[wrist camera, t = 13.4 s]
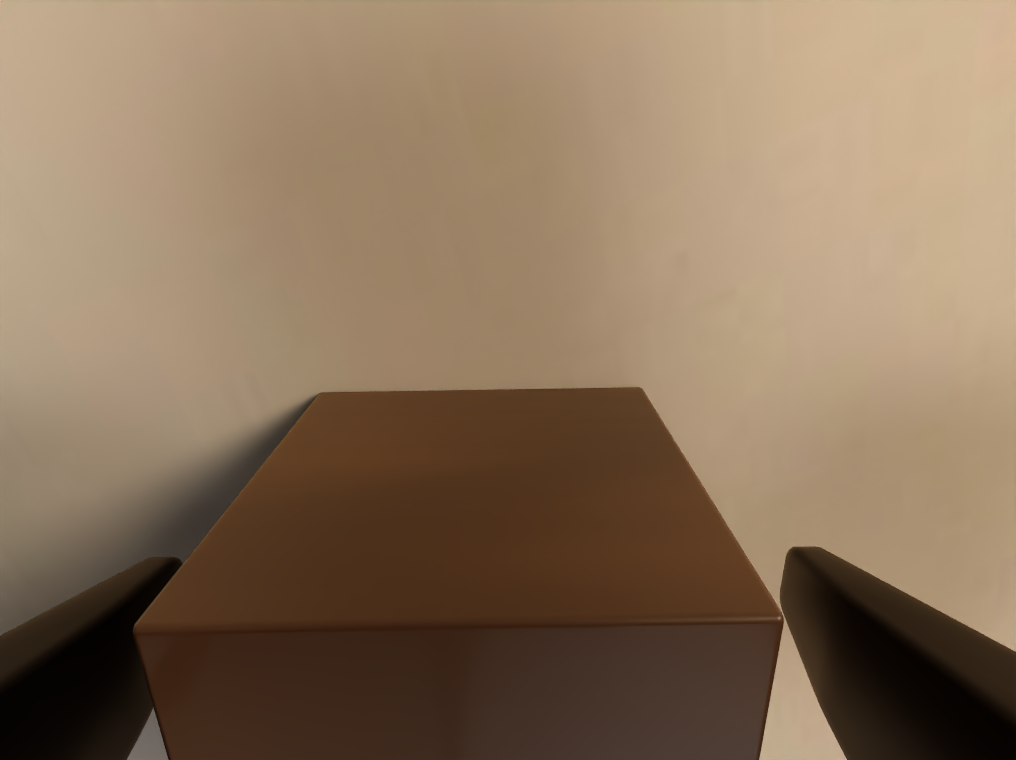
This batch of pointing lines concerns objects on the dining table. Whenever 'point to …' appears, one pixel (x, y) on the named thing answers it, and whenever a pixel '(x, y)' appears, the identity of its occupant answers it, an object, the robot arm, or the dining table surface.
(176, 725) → the walnut block
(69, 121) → the dining table surface
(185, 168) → the dining table surface
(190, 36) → the dining table surface
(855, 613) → the robot arm
